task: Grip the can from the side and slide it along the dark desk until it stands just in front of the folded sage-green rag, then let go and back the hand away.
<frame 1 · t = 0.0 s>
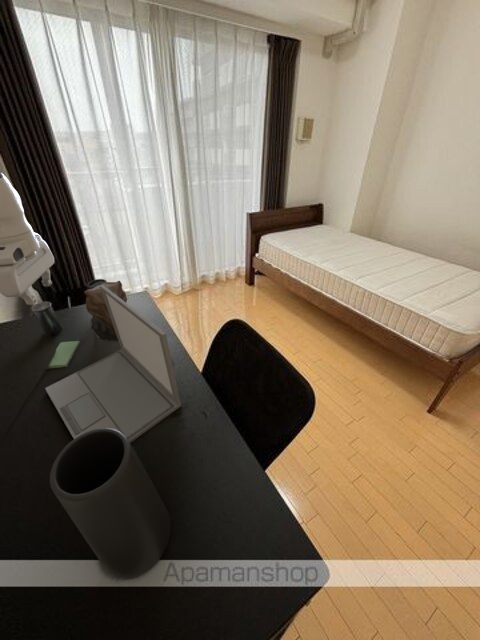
hand: (40, 293, 76), 30 cm above the table, tool pointing down, fingers open, 8 cm apart
coffee cup: (107, 314, 122), on the table
laptop: (112, 398, 85), on the table
can: (54, 331, 113), on the table
vase: (137, 535, 57), on the table
owl: (118, 334, 111), on the table
rag: (63, 354, 101), on the table
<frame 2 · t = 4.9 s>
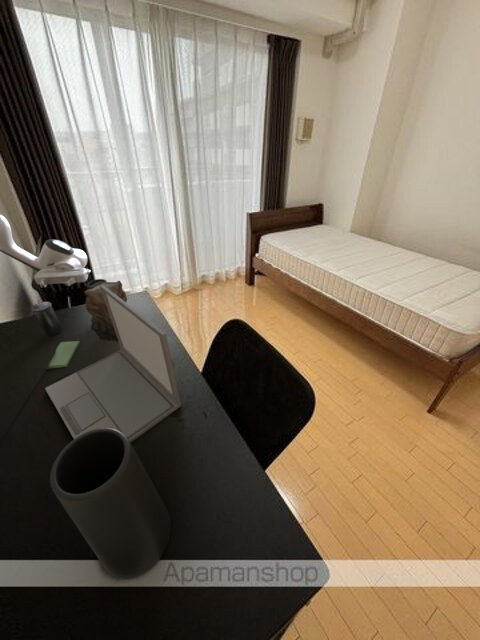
hand: (54, 285, 115), 14 cm above the table, tool horizontal, fingers open, 8 cm apart
nothing on the table moved.
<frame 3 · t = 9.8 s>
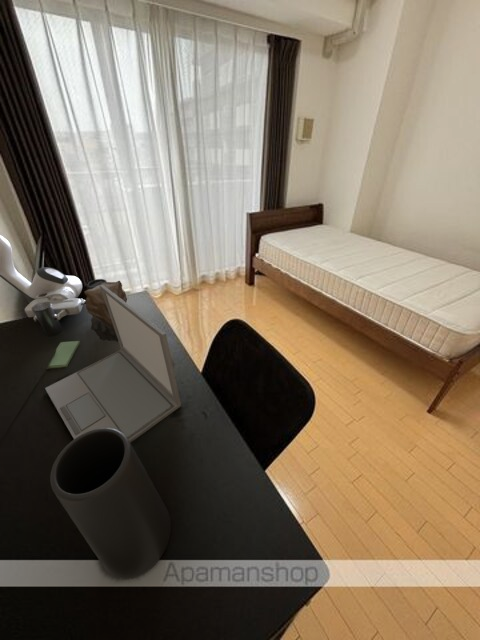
hand: (46, 319, 108), 7 cm above the table, tool horizontal, fingers closed on can, 6 cm apart
can: (54, 331, 113), on the table, touching gripper
everything else where it was.
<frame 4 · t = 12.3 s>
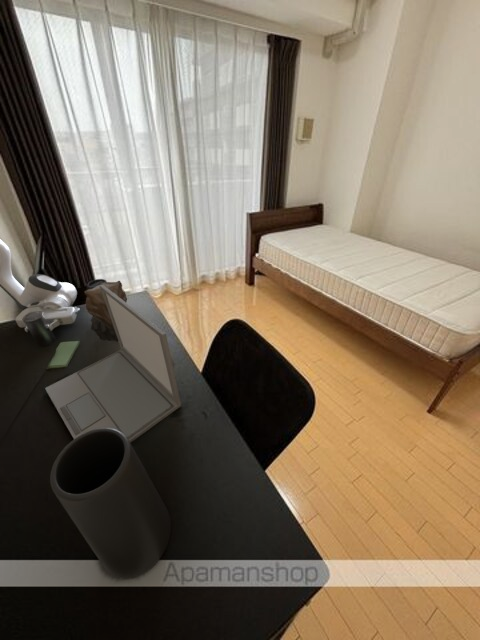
hand: (38, 329, 103), 7 cm above the table, tool horizontal, fingers closed on can, 6 cm apart
can: (46, 342, 107), on the table, touching gripper
everything else where it was.
when the fingers open (7 cm above the table, at t = 14.6 s): can stays where it is, on the table.
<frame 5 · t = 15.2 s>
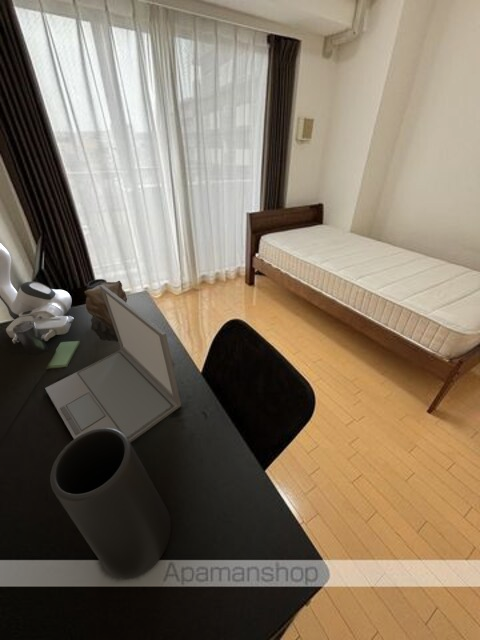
hand: (29, 340, 98), 7 cm above the table, tool horizontal, fingers open, 8 cm apart
can: (39, 352, 102), on the table
everything else where it was.
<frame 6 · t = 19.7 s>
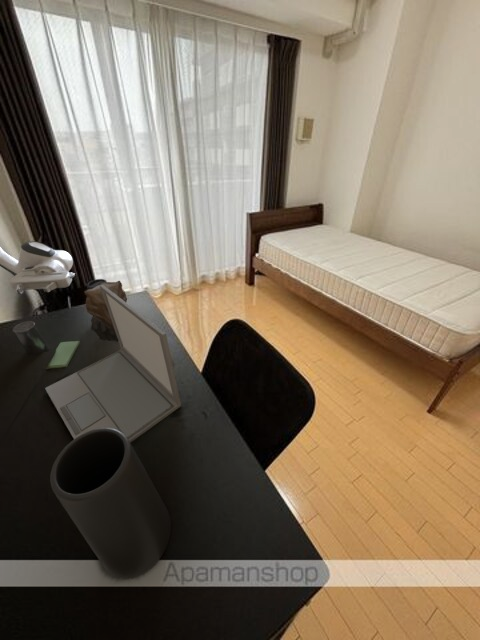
hand: (31, 291, 101), 19 cm above the table, tool horizontal, fingers open, 8 cm apart
nothing on the table moved.
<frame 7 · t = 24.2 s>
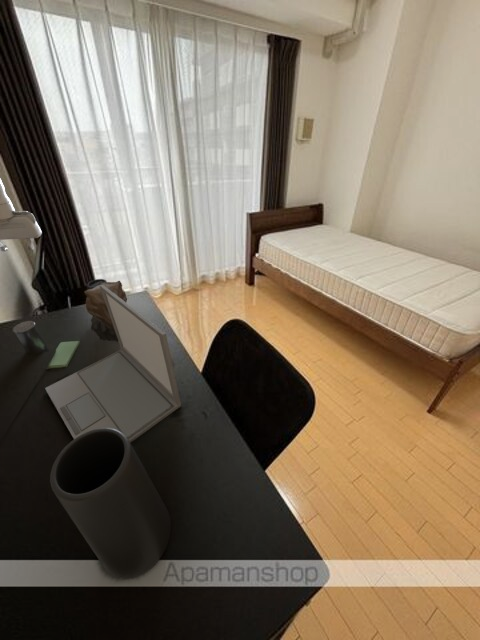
hand: (18, 250, 106), 29 cm above the table, tool pointing down, fingers open, 8 cm apart
nothing on the table moved.
at the end: can inside the target area (0.2 cm from its centre), on the table; can tilted 0°; the gripper is holding nothing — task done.
